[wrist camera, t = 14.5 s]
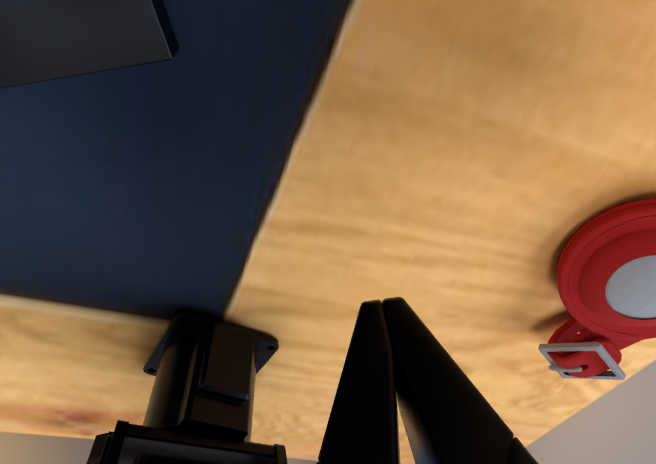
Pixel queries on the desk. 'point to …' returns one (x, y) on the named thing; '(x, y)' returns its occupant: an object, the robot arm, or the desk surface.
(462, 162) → the desk surface
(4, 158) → the desk surface
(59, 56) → the latch bracket
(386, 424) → the robot arm
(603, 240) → the tracker holder
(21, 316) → the desk surface
